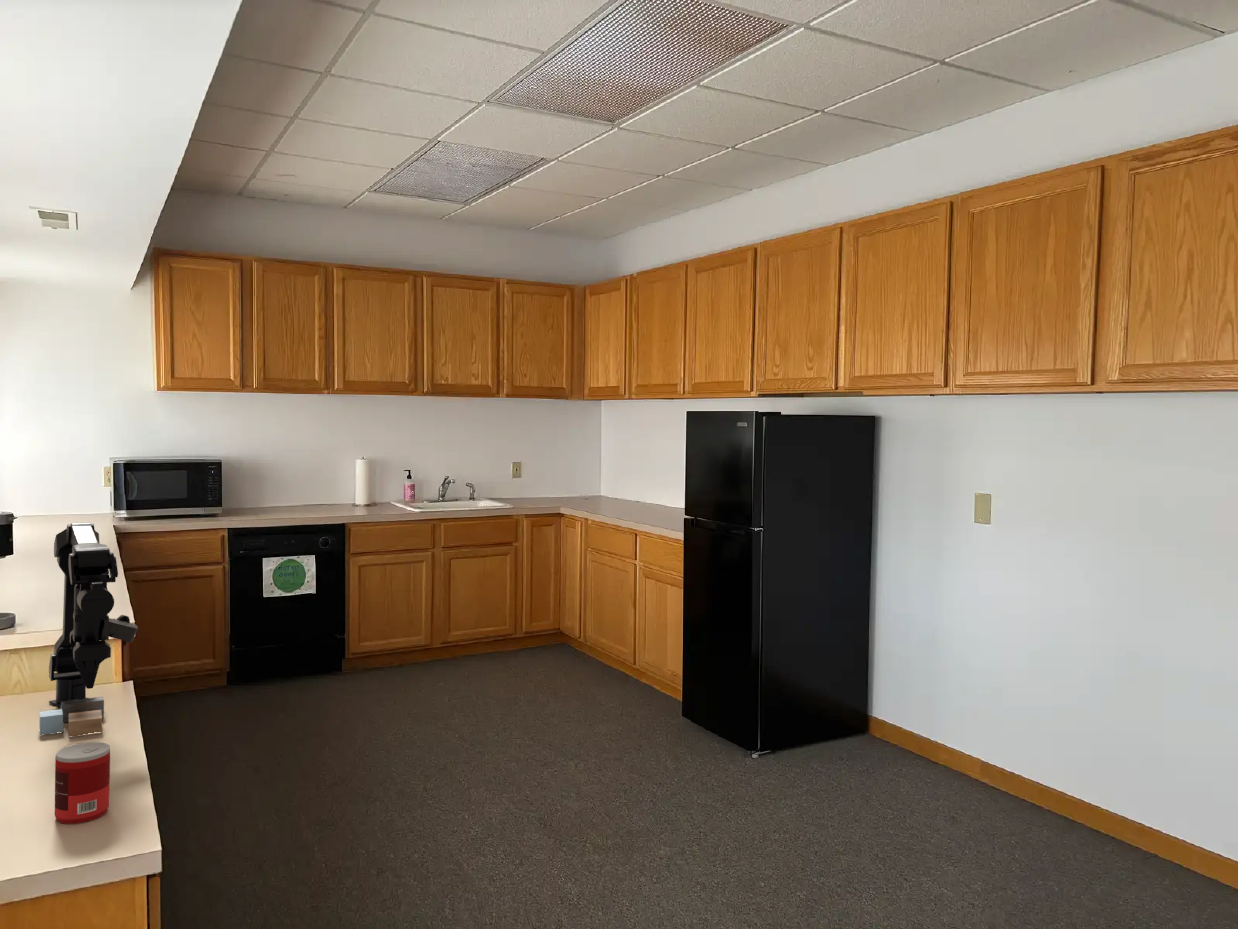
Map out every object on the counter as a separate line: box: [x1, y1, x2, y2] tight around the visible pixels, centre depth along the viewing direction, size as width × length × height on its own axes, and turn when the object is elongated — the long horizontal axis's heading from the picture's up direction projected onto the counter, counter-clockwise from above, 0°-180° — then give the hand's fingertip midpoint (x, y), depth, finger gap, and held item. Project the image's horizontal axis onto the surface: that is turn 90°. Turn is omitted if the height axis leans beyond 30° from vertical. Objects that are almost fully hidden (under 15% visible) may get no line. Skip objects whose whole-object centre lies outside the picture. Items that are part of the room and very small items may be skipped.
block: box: [39, 708, 64, 736], centre depth 188 cm, size 4×4×4 cm
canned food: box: [54, 741, 111, 825], centre depth 149 cm, size 8×8×11 cm
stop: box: [60, 696, 105, 724], centre depth 196 cm, size 3×8×4 cm, turn 124°
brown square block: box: [67, 710, 103, 738], centre depth 189 cm, size 6×6×4 cm
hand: (88, 684), depth 181 cm, fingers open, 6 cm apart
